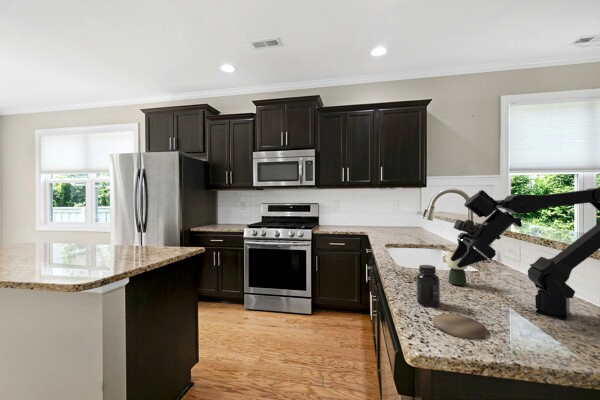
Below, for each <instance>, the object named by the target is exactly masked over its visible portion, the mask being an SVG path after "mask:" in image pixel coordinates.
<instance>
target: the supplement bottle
mask: <svg viewBox="0 0 600 400" xmlns="http://www.w3.org/2000/svg"><path fill="white" fill-rule="evenodd" d="M418 266H419V267H418V269H419V270H418V271H419V273H418V274H416V278H415V279H416V302H417V303H418V304H419V305H421V306H423V307H430V308H434V307H435V308H436V307H439V306H440V304H441V288H440V287H441V285H440V282H441V281H440V277H439V275H438V274H436V273H437V269H436V265H435V266H434V265H431V264H420V265H418Z"/></svg>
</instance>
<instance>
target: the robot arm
mask: <svg viewBox="0 0 600 400" xmlns="http://www.w3.org/2000/svg"><path fill="white" fill-rule="evenodd" d="M581 204H582V205H583V204H591V206H593V208H595V209H596V210H597V211H598V212H600V187H594V188H593V187H591V188H587V189H581V190H574V191H565V192H557V193H555V192H554V193H548V194H510V195H506V197H505V198H504V199H501V200H500V199H494V198H493V197H492V196H490V195H489V194H488V193H487V192H486V191H485V190H483V189H481V190H479V191H478V192H476V193H475V194H473V195H472V196H470V197H469V198H468V199H467V200H466V201H465V203H464V204H463V206H464V207H465V208H467V209H468V210H469V211H471V212H472V213H473V214H474V215H476V217H478V218H482V217H484V218H486V219H485V220H484V221H483V222H482V223H479V222H478V223H477V224H476V225H475V223H474V221H473V220H472V219H468V218H467V219H466V220H461V219H458V218H457V219H456V221H455V224H454V225H453V227H452V228H453V229H455V230H457V231H460V233H459V234H458V235H457V238H456V240H457V246H456V249H455V252H454V254H453V255H452V257H451V260H452V261H455V260H458V259H460V258H462V259H461V260H460V261H459V263H458V264H457V266H458V267H459V268H461V267H464V266H468V265H471V264H473V265H474V264H477V263H480V262H484V261H487V260H492V259H493V258H495V256H496V255H497V253H496V250H495V249H494V248H493V247H492V246H491V244H492V243H494V242H495V241H496V240H498V241H499V240H500V239H501V238H502V237H501V235H502V234H504V232H506V231H507V230H508V229H509V228H510V227H511V226H512V225H513V226H514V227H518V228H522V227H523V223H522V218H521V217H515V216H514V215H513V214H517V215H527V214H530V213H534V212H537V211H541V210H544V209H546V208H552V207H561V206H562V207H564V206H571V205H574V206H575V205H581ZM501 209H502V210H503V209H504V210H505V211H502V210H501ZM599 250H600V216H599V218H598V220H597V223H596V224H595V225H594V226H593V227H591V228H590V229H589V230H588V231H586V232H585V233H583V234H582V235H581V236H580V237H579V238H577V239H576V240H574V241H573V242H572V243H571V244H570V245H568V246H567V247H565V248H564V249H563V250H562V251H560V252H559V253H558V254H556V255H555V256H554V257H551V258H546V257H544V256H540V257H539V258H537V260H535V262H533V263H530V264H529V266H530V267H529V268H528V270H527V276H528V279H529V281H531V282H532V283H534V286H535V288H537V289H538V290H537V294H535V295H534V296H535V297H534V298H535V302H534V303H535V309H536V310H535V313H537V314H541V315H544V316H547V317H548V316H549V317H551V318H556V319H559V320H562V321H566V320H568V319H569V318H570V317H572V315H573V314H572V312H571V311H570V310H571V309H570V308H571V307H570V306H571V305H570V301H571V299H573V298H574V295H575V294H576V291H575V290H574V289H573V288H572V287H571V286H570V285H569V284H567V283H566V282H568V281H569V279H570V276H571V273H572V271H573V269H575V268H576V267H577V266H579V265H580V264H582V263H583V262H584V261H586V260H587V259H588V258H590V257H591V256H592V255H593V254H595V253H596V252H597V251H599ZM468 267H469V266H468Z"/></svg>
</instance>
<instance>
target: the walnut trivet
mask: <svg viewBox="0 0 600 400" xmlns="http://www.w3.org/2000/svg"><path fill="white" fill-rule="evenodd" d="M432 325H433V326H434V328H435V329H437V330H438V331H440V332H442V333H444V334H446V335H449V336H452V337H456V338H459V337H461V339H466V338H479V339H482V337H483V338H484V337H486V336H487V328H486V326H485V325H484V324H483V323H481V322H480V321H479V320H476V319H474V318H471V317H468V316H465V315H460V314H455V313H440V314H437V315H435V316H433V318H432ZM485 335H486V336H485Z"/></svg>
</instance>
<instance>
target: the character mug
mask: <svg viewBox="0 0 600 400" xmlns="http://www.w3.org/2000/svg"><path fill="white" fill-rule="evenodd" d="M455 250H456V249H455ZM455 250H454V249H449V250H447V251H446V254H442V262H443V263H446V265H447V267H448V268H450V270H449V274H448V283H450V284H451V285H456V286H463V285H467V284H468V283H467V277H466V276H467V275H466V271H465V270H467V268H468V267H473V266H474V264H471V265H468V266H464V267H461V268H459V267H458V266H457V264H458V263H459V261H460V260H461V259H462V258H460V259H458V260H455V261H452V260H451V257H452V255H453V254H454V252H455Z"/></svg>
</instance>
